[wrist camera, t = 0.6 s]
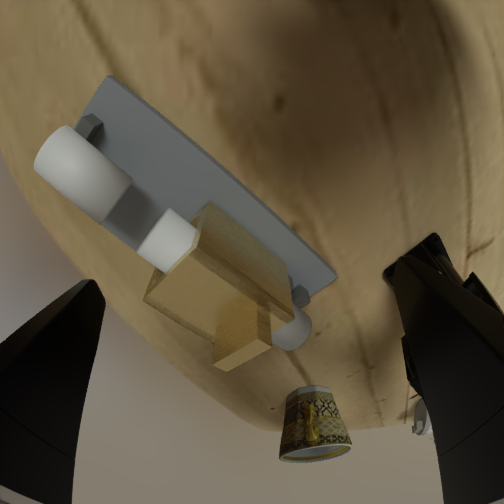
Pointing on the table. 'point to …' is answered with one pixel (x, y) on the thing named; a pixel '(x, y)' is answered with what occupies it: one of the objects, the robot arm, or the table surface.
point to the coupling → (225, 289)
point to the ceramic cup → (312, 427)
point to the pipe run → (166, 192)
